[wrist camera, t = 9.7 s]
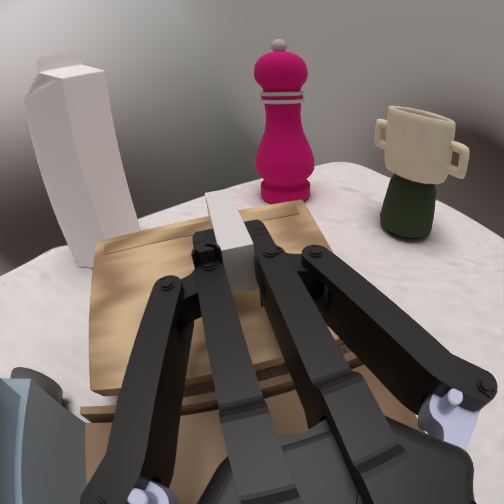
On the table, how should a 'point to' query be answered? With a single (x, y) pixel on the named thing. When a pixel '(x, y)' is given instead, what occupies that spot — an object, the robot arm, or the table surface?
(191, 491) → the flatbed
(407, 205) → the character mug
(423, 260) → the table surface
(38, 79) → the milk
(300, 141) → the pepper mill
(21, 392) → the cab
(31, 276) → the table surface
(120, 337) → the side gate
